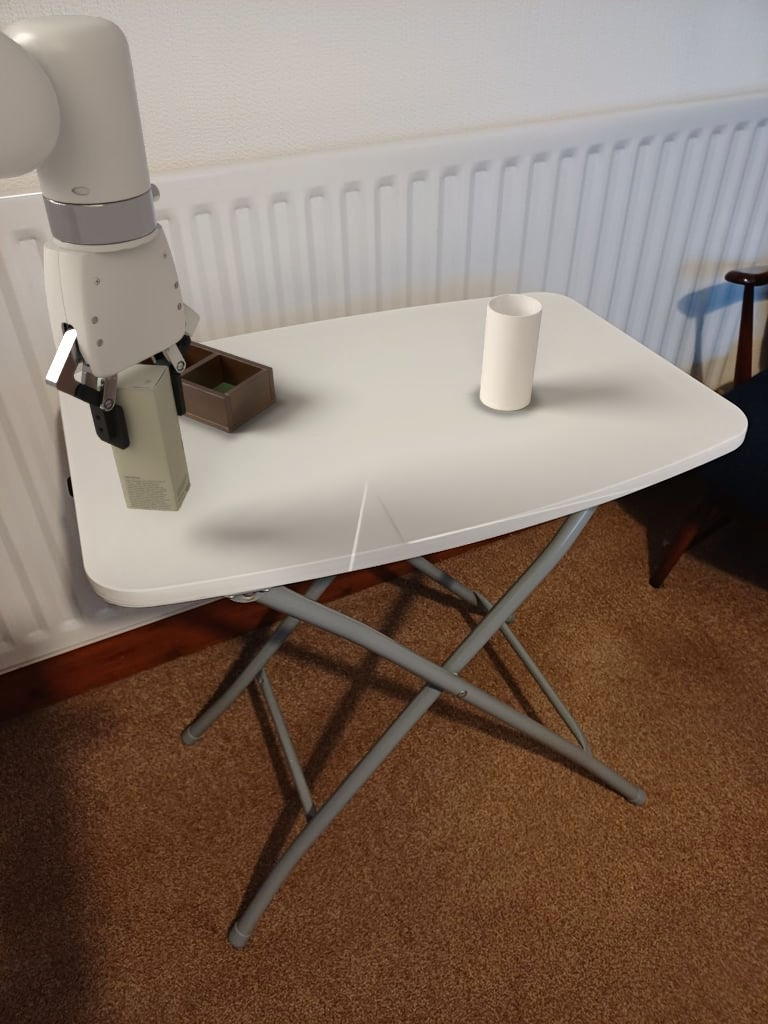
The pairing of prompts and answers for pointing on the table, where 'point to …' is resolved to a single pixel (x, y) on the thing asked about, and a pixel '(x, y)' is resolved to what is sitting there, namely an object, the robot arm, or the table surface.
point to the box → (150, 440)
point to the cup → (510, 351)
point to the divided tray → (223, 387)
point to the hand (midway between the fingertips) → (143, 425)
